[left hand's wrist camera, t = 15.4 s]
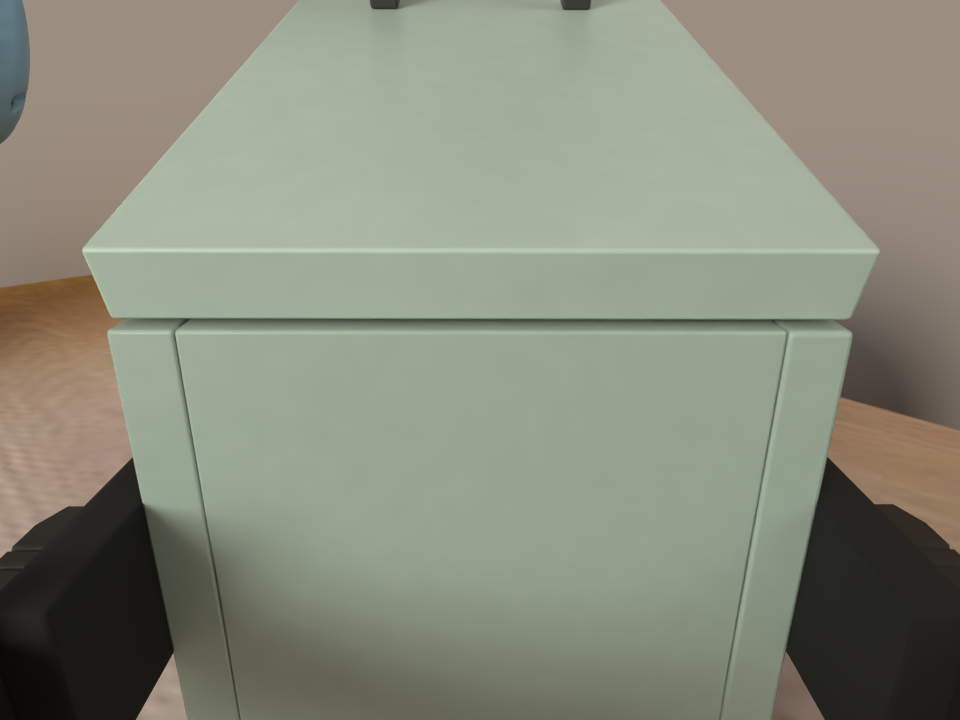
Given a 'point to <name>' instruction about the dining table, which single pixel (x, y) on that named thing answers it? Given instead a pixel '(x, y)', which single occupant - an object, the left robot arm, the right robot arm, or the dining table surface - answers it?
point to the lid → (480, 179)
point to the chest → (479, 511)
